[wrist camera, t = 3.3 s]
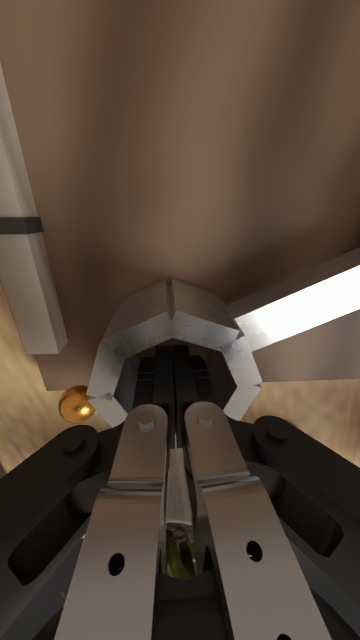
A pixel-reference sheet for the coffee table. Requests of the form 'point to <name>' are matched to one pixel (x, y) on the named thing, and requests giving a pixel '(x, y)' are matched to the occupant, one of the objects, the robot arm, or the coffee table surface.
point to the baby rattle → (210, 335)
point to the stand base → (175, 165)
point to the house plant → (178, 523)
